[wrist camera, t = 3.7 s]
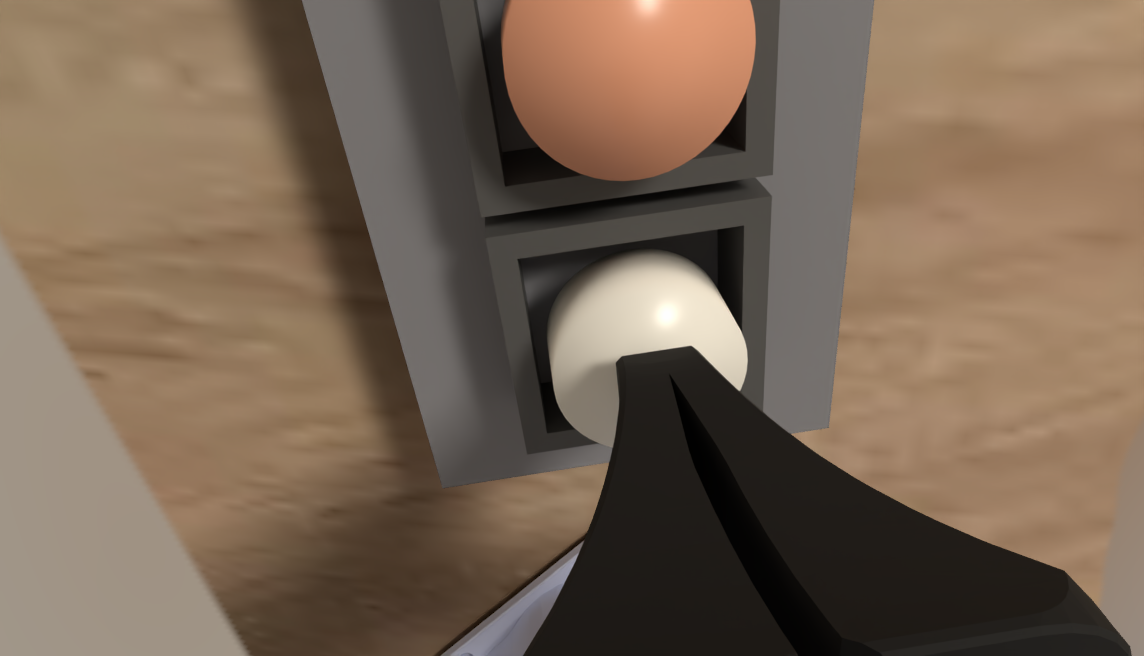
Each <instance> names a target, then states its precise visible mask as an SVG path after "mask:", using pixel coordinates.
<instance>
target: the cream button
mask: <svg viewBox="0 0 1144 656" xmlns="http://www.w3.org/2000/svg"><path fill="white" fill-rule="evenodd" d="M547 344H548V352H549V359H550V366H551V373H552V380H553V387H554V393H555V397H556V401H557V403H558V406H559V408H560V410H561V412H562V413H563V415H564V417H565V418H566V419H567V421H568V422H569V423H570V424H571V425H572V426H573V427H574V428H575V429H576V430H577V431H579V432H580V433H581V434H583V435H584V436H586V437H587V438H589V439H591V440H593V441H595V442H597V443H599V444H603V445H606V446H609V447H613V444H614V439H615V433H616V425H617V418H618V410H619V392H618V382H617V372H616V362H617V361H618V360H619V358H620V357H621V356H626V355H632V354H639V353H646V352H652V351H659V350H665V349H672V348H678V347H685V346H693V347H694V348H695V349H697V350H698V351H699V352H700V353H701V354H702V355H703V356H704V357H705V358H706V359H707V360H708V361H709V362H710V363H711V364H712V365H713V366H714V367H715V368H716V369H717V370H718V371H719V372H720V373H721V374H722V375H723V376H724V377H725V378H726V379H727V380H728V381H729V382H730V383H731V384H732V385H733V386H734V387H735V388H736V389H738V390H739V391H740V390H741V388H742V385H743V383H744V379H745V376H746V372H747V363H748V358H747V348H746V343H745V340H744V337H743V335H742V332H741V330H740V328H739V327H738V325H737V323H736V321H735V319H734V318H733V316H732V314H731V312H730V311H729V309H728V307H727V305H726V303H725V302H724V300H723V298H722V296H721V295H720V293H719V291H718V289H717V287H716V286H715V284H714V283H713V281H712V279H711V278H710V277H709V276H708V275H707V273H706V272H705V271H704V270H703V269H701V268H700V267H699V266H698V265H697V264H695V263H694V262H692V261H690V260H689V259H687V258H685V257H683V256H680V255H678V254H675V253H672V252H669V251H665V250H658V249H630V250H625V251H620V252H616V253H613V254H610V255H607V256H605V257H602V258H600V259H598V260H596V261H594V262H592V263H591V264H589V265H587V266H586V267H584V268H583V269H582V270H580V271H579V272H578V273H577V274H575V275H574V276H573V277H572V278H571V279H570V280H569V281H568V282H567V283H566V284H565V286H564V287H563V288H562V290H561V291H560V292H559V294H558V296H557V297H556V299H555V301H554V303H553V305H552V308H551V310H550V313H549V318H548V322H547Z"/></svg>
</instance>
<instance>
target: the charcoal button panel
mask: <svg viewBox="0 0 1144 656" xmlns="http://www.w3.org/2000/svg"><path fill="white" fill-rule="evenodd" d="M504 2H505V0H302V3H303V6H304V10H305V13H306V17H307V20H308V24H309V27H310V31H311V34H312V38H313V41H314V45H315V48H316V51H317V55H318V58H319V62H320V65H321V69H322V72H323V76H324V79H325V83H326V86H327V90H328V93H329V96H330V100H331V103H332V107H333V110H334V114H335V117H336V121H337V124H338V128H339V131H340V135H341V138H342V141H343V145H344V148H345V152H346V155H347V159H348V162H349V166H350V169H351V173H352V176H353V180H354V183H355V187H356V190H357V193H358V197H359V200H360V204H361V207H362V211H363V214H364V218H365V221H366V225H367V228H368V232H369V235H370V238H371V242H372V245H373V249H374V252H375V256H376V259H377V263H378V266H379V270H380V273H381V277H382V280H383V283H384V287H385V290H386V294H387V297H388V301H389V304H390V308H391V311H392V315H393V318H394V322H395V325H396V329H397V332H398V335H399V339H400V342H401V346H402V349H403V353H404V356H405V360H406V363H407V367H408V370H409V374H410V377H411V380H412V384H413V387H414V391H415V394H416V398H417V401H418V405H419V408H420V412H421V415H422V419H423V422H424V426H425V429H426V432H427V436H428V439H429V443H430V446H431V450H432V453H433V457H434V460H435V464H436V467H437V471H438V474H439V477H440V481H441V484H442V488H448V487H454V486H461V485H467V484H473V483H480V482H486V481H492V480H499V479H505V478H512V477H518V476H524V475H531V474H537V473H543V472H550V471H556V470H563V469H569V468H575V467H582V466H588V465H594V464H601V463H607V462H610V457H611V453H612V448H613V447H609V446H606V445H603V444H599V443H597V442H595V441H593V440H591V439H589V438H587V437H586V436H584V435H583V434H581V433H580V432H579V431H577V430H576V429H575V428H574V427H573V426H572V425H571V424H570V423H569V422H568V421H567V419H566V418H565V417H564V415H563V413H562V412H561V410H560V408H559V406H558V403H557V401H556V397H555V393H554V387H553V380H552V373H551V366H550V359H549V352H548V344H547V322H548V318H549V313H550V310H551V308H552V305H553V303H554V301H555V299H556V297H557V296H558V294H559V292H560V291H561V290H562V288H563V287H564V286H565V284H566V283H567V282H568V281H569V280H570V279H571V278H572V277H573V276H574V275H575V274H577V273H578V272H579V271H580V270H582V269H583V268H584V267H586V266H587V265H589V264H591V263H592V262H594V261H596V260H598V259H600V258H602V257H605V256H607V255H610V254H613V253H616V252H620V251H625V250H630V249H658V250H665V251H669V252H672V253H675V254H678V255H680V256H683V257H685V258H687V259H689V260H690V261H692V262H694V263H695V264H697V265H698V266H699V267H700V268H701V269H703V270H704V271H705V272H706V273H707V275H708V276H709V277H710V278H711V279H712V281H713V283H714V284H715V286H716V287H717V289H718V291H719V293H720V295H721V296H722V298H723V300H724V302H725V303H726V305H727V307H728V309H729V311H730V312H731V314H732V316H733V318H734V319H735V321H736V323H737V325H738V327H739V328H740V330H741V332H742V335H743V337H744V340H745V343H746V348H747V358H748V363H747V372H746V376H745V379H744V383H743V385H742V388H741V390H740V392H741V393H742V394H743V395H744V396H745V397H746V398H748V399H749V400H750V401H751V402H752V403H753V404H755V405H756V406H757V407H758V408H759V409H760V410H762V411H763V412H764V413H765V414H766V415H767V416H768V417H770V418H771V419H772V420H773V421H775V422H776V423H777V424H778V425H780V426H781V427H782V428H783V429H785V430H786V431H787V432H788V433H790V434H792V433H798V432H805V431H811V430H818V429H824V428H829V420H830V411H831V402H832V392H833V383H834V373H835V364H836V354H837V345H838V336H839V326H840V317H841V307H842V298H843V289H844V279H845V270H846V260H847V251H848V241H849V232H850V223H851V213H852V204H853V194H854V185H855V176H856V166H857V157H858V147H859V138H860V128H861V119H862V110H863V100H864V91H865V81H866V72H867V63H868V53H869V44H870V34H871V25H872V15H873V6H874V0H750V2H751V5H752V9H753V15H754V21H755V36H756V45H755V57H754V63H753V68H752V73H751V77H750V80H749V83H748V86H747V89H746V92H745V94H744V96H743V99H742V101H741V103H740V105H739V107H738V109H737V111H736V112H735V114H734V115H733V117H732V119H731V120H730V122H729V123H728V124H727V126H726V127H725V128H724V130H723V131H722V132H721V133H720V135H719V136H718V137H717V138H716V139H715V140H714V141H713V142H712V143H711V144H710V145H709V146H708V147H707V148H705V149H704V150H703V151H702V152H701V153H699V154H698V155H697V156H696V157H694V158H692V159H691V160H689V161H688V162H686V163H685V164H683V165H681V166H679V167H677V168H675V169H673V170H671V171H669V172H666V173H663V174H660V175H657V176H654V177H650V178H645V179H640V180H631V181H610V180H603V179H598V178H593V177H590V176H586V175H583V174H580V173H578V172H575V171H573V170H571V169H569V168H567V167H565V166H563V165H562V164H560V163H559V162H557V161H556V160H554V159H553V158H551V157H550V156H549V155H548V154H547V153H545V152H544V151H543V150H542V149H541V148H540V147H539V146H538V145H537V144H536V143H535V142H534V140H533V139H532V138H531V137H530V136H529V134H528V133H527V131H526V130H525V128H524V127H523V126H522V124H521V122H520V120H519V118H518V116H517V114H516V112H515V110H514V108H513V105H512V102H511V100H510V97H509V94H508V90H507V85H506V81H505V75H504V66H503V57H502V47H501V19H502V13H503V6H504Z"/></svg>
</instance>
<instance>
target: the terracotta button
mask: <svg viewBox="0 0 1144 656" xmlns="http://www.w3.org/2000/svg"><path fill="white" fill-rule="evenodd" d="M755 45H756V36H755V21H754V15H753V9H752V5H751V2H750V0H505V2H504V6H503V13H502V19H501V47H502V57H503V66H504V75H505V81H506V85H507V90H508V94H509V97H510V100H511V102H512V105H513V108H514V110H515V112H516V114H517V116H518V118H519V120H520V122H521V124H522V126H523V127H524V128H525V130H526V131H527V133H528V134H529V136H530V137H531V138H532V139H533V140H534V142H535V143H536V144H537V145H538V146H539V147H540V148H541V149H542V150H543V151H544V152H545V153H547V154H548V155H549V156H550V157H551V158H553V159H554V160H556V161H557V162H559V163H560V164H562V165H563V166H565V167H567V168H569V169H571V170H573V171H575V172H578V173H580V174H583V175H586V176H590V177H593V178H598V179H603V180H610V181H631V180H640V179H645V178H650V177H654V176H657V175H660V174H663V173H666V172H669V171H671V170H673V169H675V168H677V167H679V166H681V165H683V164H685V163H686V162H688V161H689V160H691V159H692V158H694V157H696V156H697V155H698V154H699V153H701V152H702V151H703V150H704V149H705V148H707V147H708V146H709V145H710V144H711V143H712V142H713V141H714V140H715V139H716V138H717V137H718V136H719V135H720V133H721V132H722V131H723V130H724V128H725V127H726V126H727V124H728V123H729V122H730V120H731V119H732V117H733V115H734V114H735V112H736V111H737V109H738V107H739V105H740V103H741V101H742V99H743V96H744V94H745V92H746V89H747V86H748V83H749V80H750V77H751V73H752V68H753V63H754V57H755Z"/></svg>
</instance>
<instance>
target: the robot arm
mask: <svg viewBox="0 0 1144 656" xmlns="http://www.w3.org/2000/svg"><path fill="white" fill-rule="evenodd" d="M616 372H617V382H618V392H619V410H618V418H617V425H616V433H615V439H614V444H613V448H612V453H611V457H610V462H609V466H608V471H607V475H606V478H605V482H604V485H603V489H602V492H601V495H600V499H599V502H598V505H597V508H596V511H595V514H594V516H593V519H592V522H591V524H590V527H589V529H588V532H587V534H586V537H585V540H584V541H583V542H581V543H580V544H579V545H578V546H576V547H575V548H574V549H573V550H571V551H570V552H569V553H568V554H566V555H565V556H564V557H563V558H561V559H560V560H559V561H558V562H556V563H555V564H554V565H553V566H551V567H550V568H549V569H548V570H547V571H545V572H544V573H543V574H542V575H540V576H539V577H538V578H537V579H535V580H534V581H533V582H532V583H530V584H529V585H528V586H527V587H525V588H524V589H523V590H522V591H520V592H519V593H518V594H517V595H515V596H514V597H513V598H512V599H510V600H509V601H508V602H507V603H505V604H504V605H503V606H502V607H500V608H499V609H498V610H497V611H495V612H494V613H493V614H492V615H490V616H489V617H488V618H487V619H485V620H484V621H483V622H482V623H481V624H479V625H478V626H477V627H476V628H474V629H473V630H472V631H471V632H469V633H468V634H467V635H466V636H464V637H463V638H462V639H461V640H459V641H458V642H457V643H456V644H454V645H453V646H452V647H451V648H449V649H448V650H447V651H446V652H444V653H443V654H442V655H441V656H1132V655H1131V649H1130V646H1129V645H1128V644H1127V642H1126V641H1125V640H1124V639H1123V637H1121V635H1120V634H1119V633H1118V631H1117V630H1116V629H1115V628H1114V627H1113V625H1112V624H1111V623H1110V622H1109V620H1108V619H1107V618H1106V616H1105V615H1104V614H1103V613H1102V612H1101V610H1100V609H1099V608H1098V607H1097V605H1096V604H1095V603H1094V602H1093V601H1092V599H1091V598H1090V597H1089V596H1088V595H1087V594H1086V593H1085V592H1084V591H1083V590H1082V589H1081V588H1080V587H1079V586H1078V585H1077V584H1076V583H1075V582H1074V581H1073V580H1072V578H1071V577H1070V576H1069V575H1068V574H1067V573H1066V572H1065V571H1063V570H1061V569H1058V568H1055V567H1052V566H1050V565H1047V564H1044V563H1042V562H1039V561H1036V560H1033V559H1031V558H1028V557H1025V556H1022V555H1020V554H1017V553H1014V552H1011V551H1009V550H1006V549H1003V548H1001V547H998V546H995V545H992V544H990V543H987V542H985V541H982V540H980V539H977V538H975V537H973V536H970V535H968V534H966V533H964V532H961V531H959V530H957V529H954V528H952V527H950V526H948V525H945V524H943V523H941V522H938V521H936V520H934V519H932V518H930V517H928V516H926V515H924V514H922V513H919V512H917V511H915V510H913V509H911V508H909V507H907V506H905V505H904V504H902V503H900V502H898V501H896V500H894V499H892V498H890V497H888V496H887V495H885V494H883V493H881V492H879V491H877V490H875V489H873V488H872V487H870V486H868V485H866V484H865V483H863V482H861V481H859V480H858V479H856V478H854V477H853V476H851V475H849V474H848V473H846V472H845V471H843V470H841V469H840V468H838V467H837V466H835V465H834V464H832V463H830V462H829V461H827V460H826V459H824V458H823V457H821V456H820V455H818V454H817V453H815V452H814V451H813V450H811V449H810V448H808V447H807V446H806V445H804V444H803V443H802V442H800V441H799V440H798V439H796V438H795V437H794V436H792V435H791V434H790V433H788V432H787V431H786V430H785V429H783V428H782V427H781V426H780V425H778V424H777V423H776V422H775V421H773V420H772V419H771V418H770V417H768V416H767V415H766V414H765V413H764V412H763V411H762V410H760V409H759V408H758V407H757V406H756V405H755V404H753V403H752V402H751V401H750V400H749V399H748V398H746V397H745V396H744V395H743V394H742V393H741V392H740V391H739V390H738V389H736V388H735V387H734V386H733V385H732V384H731V383H730V382H729V381H728V380H727V379H726V378H725V377H724V376H723V375H722V374H721V373H720V372H719V371H718V370H717V369H716V368H715V367H714V366H713V365H712V364H711V363H710V362H709V361H708V360H707V359H706V358H705V357H704V356H703V355H702V354H701V353H700V352H699V351H698V350H697V349H695V348H694V347H693V346H685V347H678V348H672V349H665V350H659V351H652V352H646V353H639V354H632V355H626V356H621V357H620V358H619V360H618V361H617V362H616Z"/></svg>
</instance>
